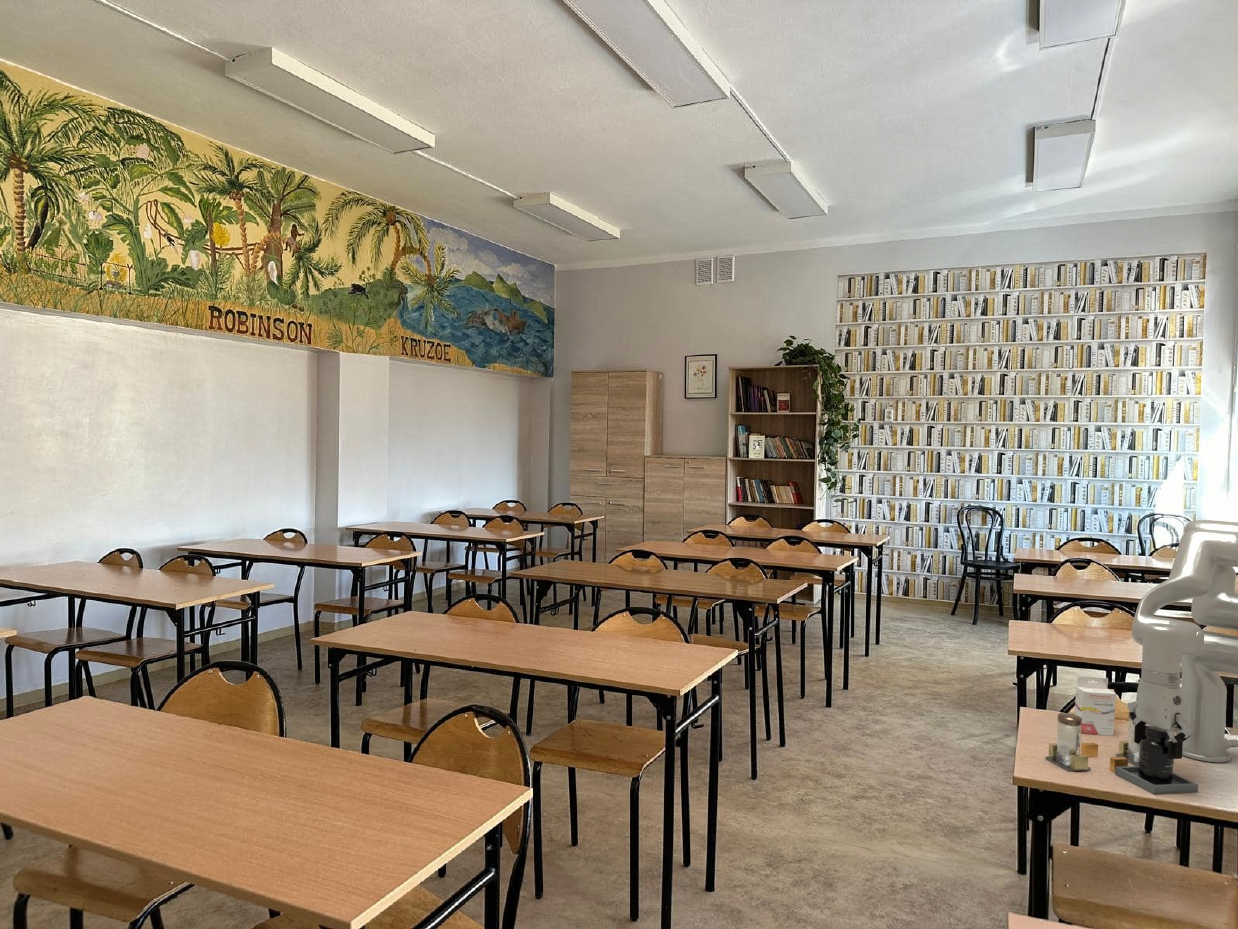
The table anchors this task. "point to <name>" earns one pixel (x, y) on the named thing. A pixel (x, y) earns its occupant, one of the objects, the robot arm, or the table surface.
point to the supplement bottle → (1155, 757)
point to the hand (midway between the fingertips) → (1157, 750)
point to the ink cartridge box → (1095, 706)
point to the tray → (1176, 786)
